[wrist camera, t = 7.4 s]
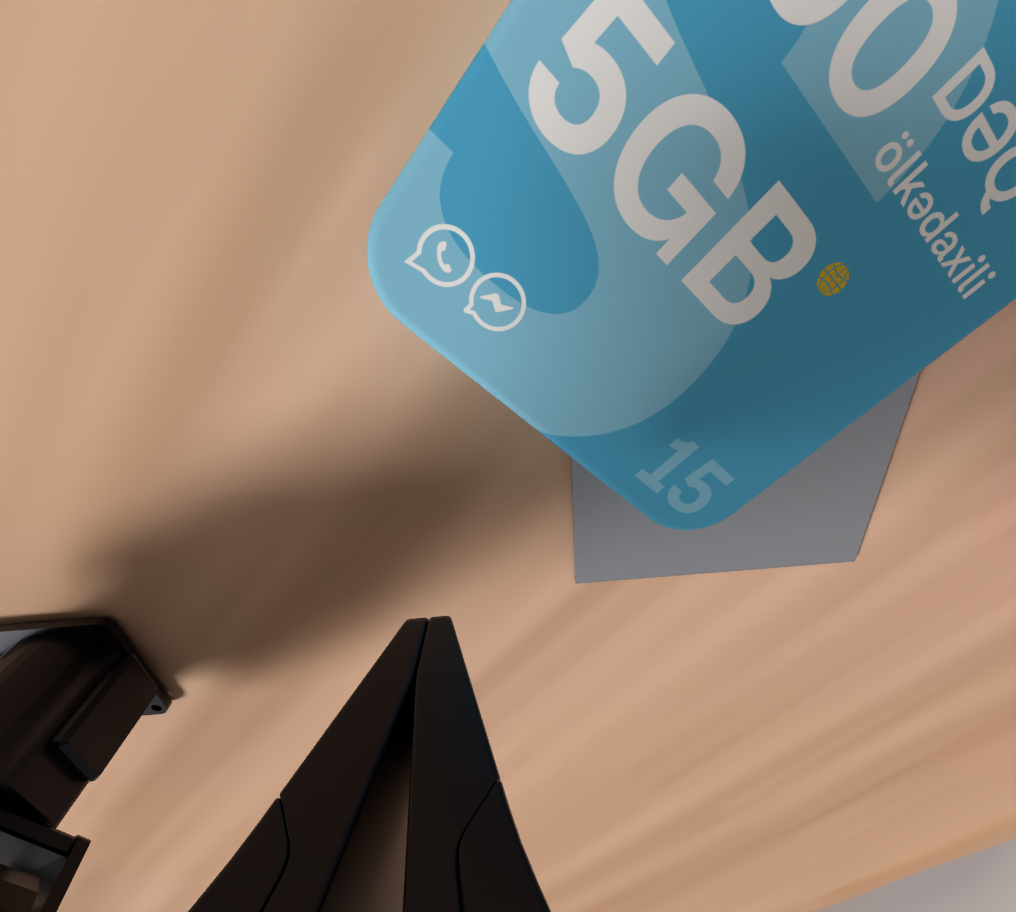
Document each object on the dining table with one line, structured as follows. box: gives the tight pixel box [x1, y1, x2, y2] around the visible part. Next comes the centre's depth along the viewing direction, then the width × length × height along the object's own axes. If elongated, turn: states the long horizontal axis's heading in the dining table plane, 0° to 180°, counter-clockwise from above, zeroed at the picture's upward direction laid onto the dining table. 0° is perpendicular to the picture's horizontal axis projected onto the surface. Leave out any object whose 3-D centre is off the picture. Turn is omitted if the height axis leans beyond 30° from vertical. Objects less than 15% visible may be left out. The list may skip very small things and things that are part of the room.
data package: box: [367, 0, 1016, 530], centre depth 12 cm, size 12×4×12 cm
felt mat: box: [571, 372, 920, 584], centre depth 17 cm, size 12×16×1 cm
